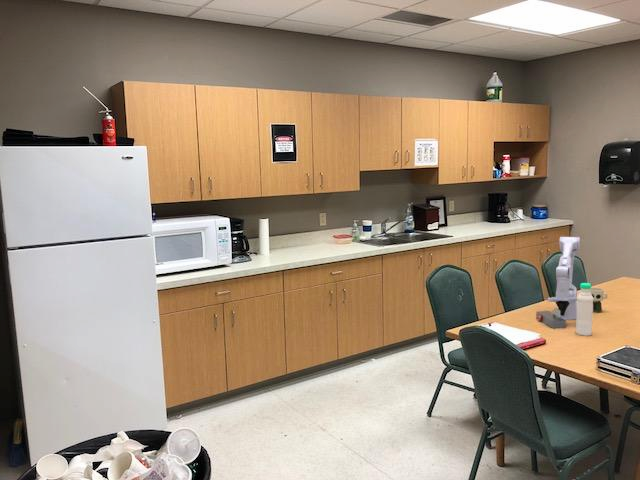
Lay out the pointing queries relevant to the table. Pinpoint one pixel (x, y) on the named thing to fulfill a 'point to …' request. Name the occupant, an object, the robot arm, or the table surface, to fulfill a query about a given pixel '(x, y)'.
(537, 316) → the pin
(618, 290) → the table surface
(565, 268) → the robot arm
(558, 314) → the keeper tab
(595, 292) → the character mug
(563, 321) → the block
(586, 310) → the water bottle
